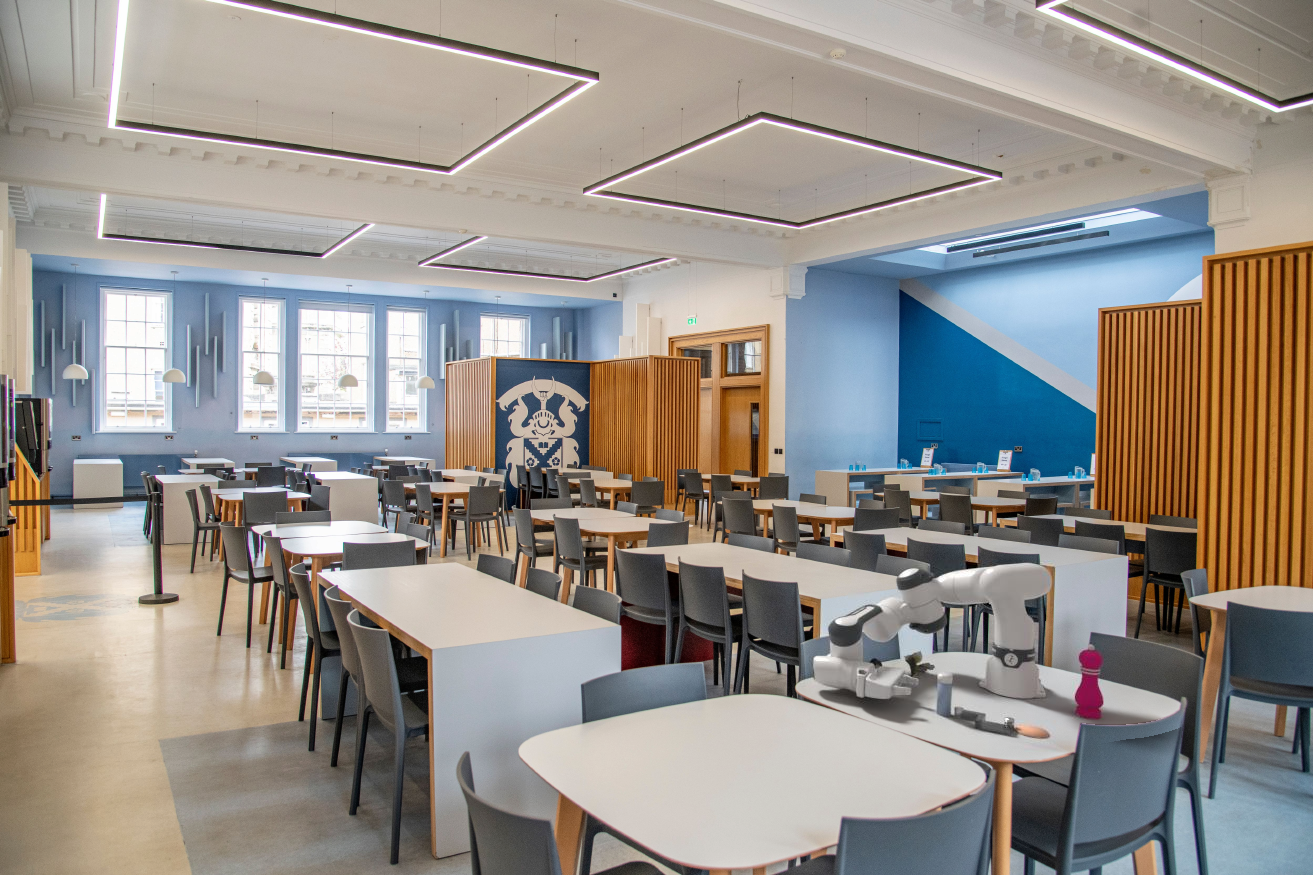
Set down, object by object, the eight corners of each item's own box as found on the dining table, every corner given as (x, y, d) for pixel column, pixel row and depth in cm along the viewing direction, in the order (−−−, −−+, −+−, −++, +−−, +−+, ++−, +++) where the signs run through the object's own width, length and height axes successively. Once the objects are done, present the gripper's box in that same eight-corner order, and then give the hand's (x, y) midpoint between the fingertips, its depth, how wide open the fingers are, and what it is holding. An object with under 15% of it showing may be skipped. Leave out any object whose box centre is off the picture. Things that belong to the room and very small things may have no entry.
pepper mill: (1106, 720, 226) (1109, 648, 226) (1078, 718, 228) (1081, 646, 228) (1098, 711, 234) (1100, 642, 233) (1070, 709, 235) (1073, 640, 235)
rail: (954, 714, 228) (955, 705, 228) (1015, 726, 220) (1015, 717, 220) (949, 723, 221) (950, 714, 221) (1011, 735, 213) (1011, 726, 213)
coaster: (1016, 724, 222) (1017, 722, 221) (1049, 730, 218) (1049, 729, 218) (1013, 733, 215) (1013, 731, 215) (1047, 740, 211) (1047, 738, 211)
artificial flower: (863, 678, 263) (863, 646, 265) (923, 683, 269) (923, 652, 271) (878, 679, 254) (878, 646, 257) (940, 684, 260) (939, 651, 263)
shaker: (937, 710, 231) (939, 671, 231) (952, 713, 229) (953, 673, 229) (934, 714, 227) (936, 674, 227) (949, 717, 225) (951, 677, 225)
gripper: (874, 679, 248) (921, 687, 241) (855, 698, 230) (906, 708, 223) (875, 658, 247) (922, 666, 241) (856, 676, 230) (907, 685, 223)
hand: (914, 686), depth 232 cm, fingers open, 8 cm apart
